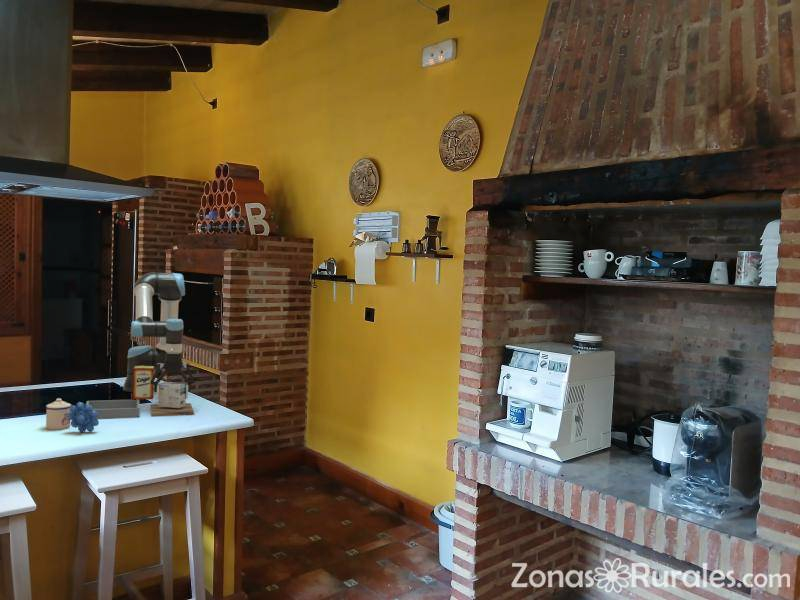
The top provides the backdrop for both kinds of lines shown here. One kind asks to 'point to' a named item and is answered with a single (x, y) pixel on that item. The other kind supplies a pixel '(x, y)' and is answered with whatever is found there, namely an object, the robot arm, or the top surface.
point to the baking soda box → (143, 382)
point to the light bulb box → (172, 394)
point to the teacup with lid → (57, 415)
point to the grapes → (83, 417)
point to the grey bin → (115, 408)
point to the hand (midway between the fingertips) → (172, 398)
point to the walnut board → (171, 410)
